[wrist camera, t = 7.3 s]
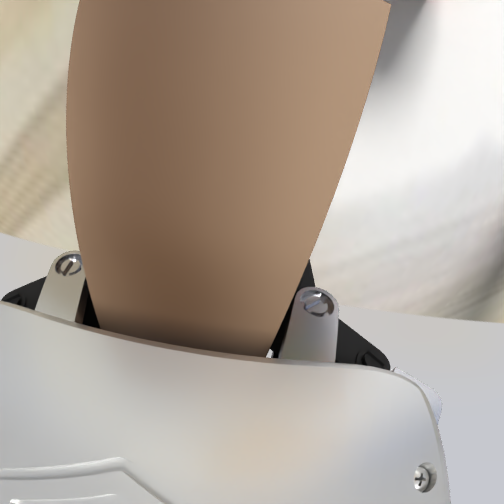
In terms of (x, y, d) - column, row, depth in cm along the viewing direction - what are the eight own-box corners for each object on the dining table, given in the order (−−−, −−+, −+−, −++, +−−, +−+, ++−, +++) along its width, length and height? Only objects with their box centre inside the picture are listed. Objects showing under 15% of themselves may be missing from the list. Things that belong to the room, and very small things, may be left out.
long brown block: (314, 37, 7) (435, -9, 1) (233, 341, 17) (225, 455, 11) (181, 16, 7) (42, -42, 1) (160, 328, 16) (133, 439, 10)
